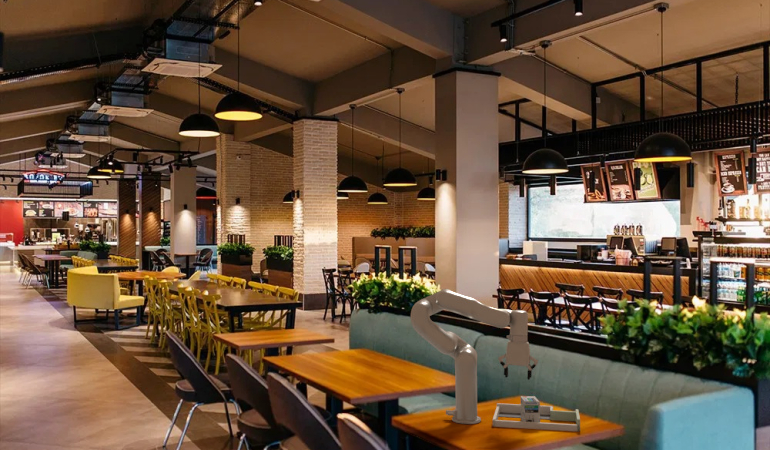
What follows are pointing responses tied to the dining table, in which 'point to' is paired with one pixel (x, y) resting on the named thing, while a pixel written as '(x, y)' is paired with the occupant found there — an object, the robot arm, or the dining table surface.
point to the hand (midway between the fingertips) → (517, 378)
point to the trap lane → (545, 413)
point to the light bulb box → (530, 409)
